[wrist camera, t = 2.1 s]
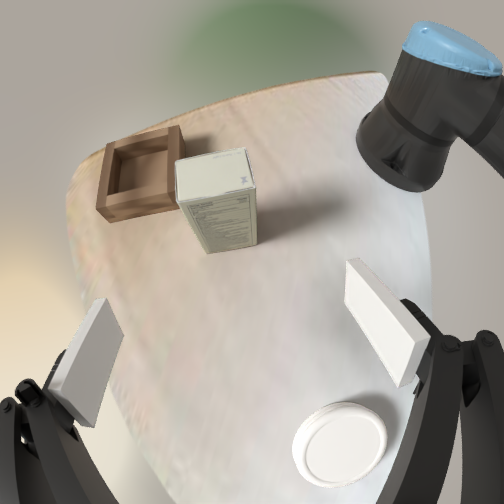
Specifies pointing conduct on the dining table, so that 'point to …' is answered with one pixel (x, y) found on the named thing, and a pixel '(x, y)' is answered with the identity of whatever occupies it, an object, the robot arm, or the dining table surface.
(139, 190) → the holder
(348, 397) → the dining table surface
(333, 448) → the white round piece
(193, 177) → the skincare box
